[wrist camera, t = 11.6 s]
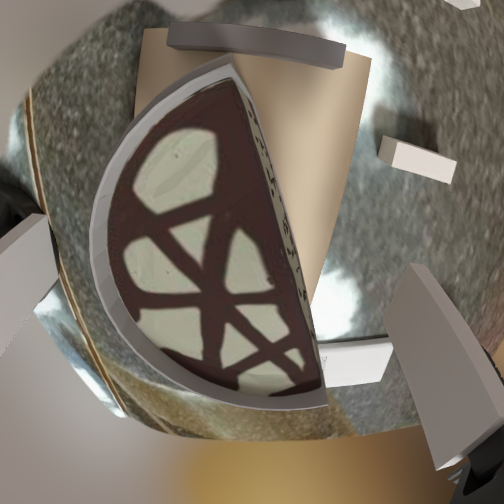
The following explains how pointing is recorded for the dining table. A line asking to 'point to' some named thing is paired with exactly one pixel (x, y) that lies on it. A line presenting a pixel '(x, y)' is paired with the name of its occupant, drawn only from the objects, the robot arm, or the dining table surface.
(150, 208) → the food container
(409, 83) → the dining table surface
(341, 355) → the external hard drive
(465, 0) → the pair of white blocks
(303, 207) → the wooden stand
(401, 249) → the dining table surface
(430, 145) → the dining table surface
